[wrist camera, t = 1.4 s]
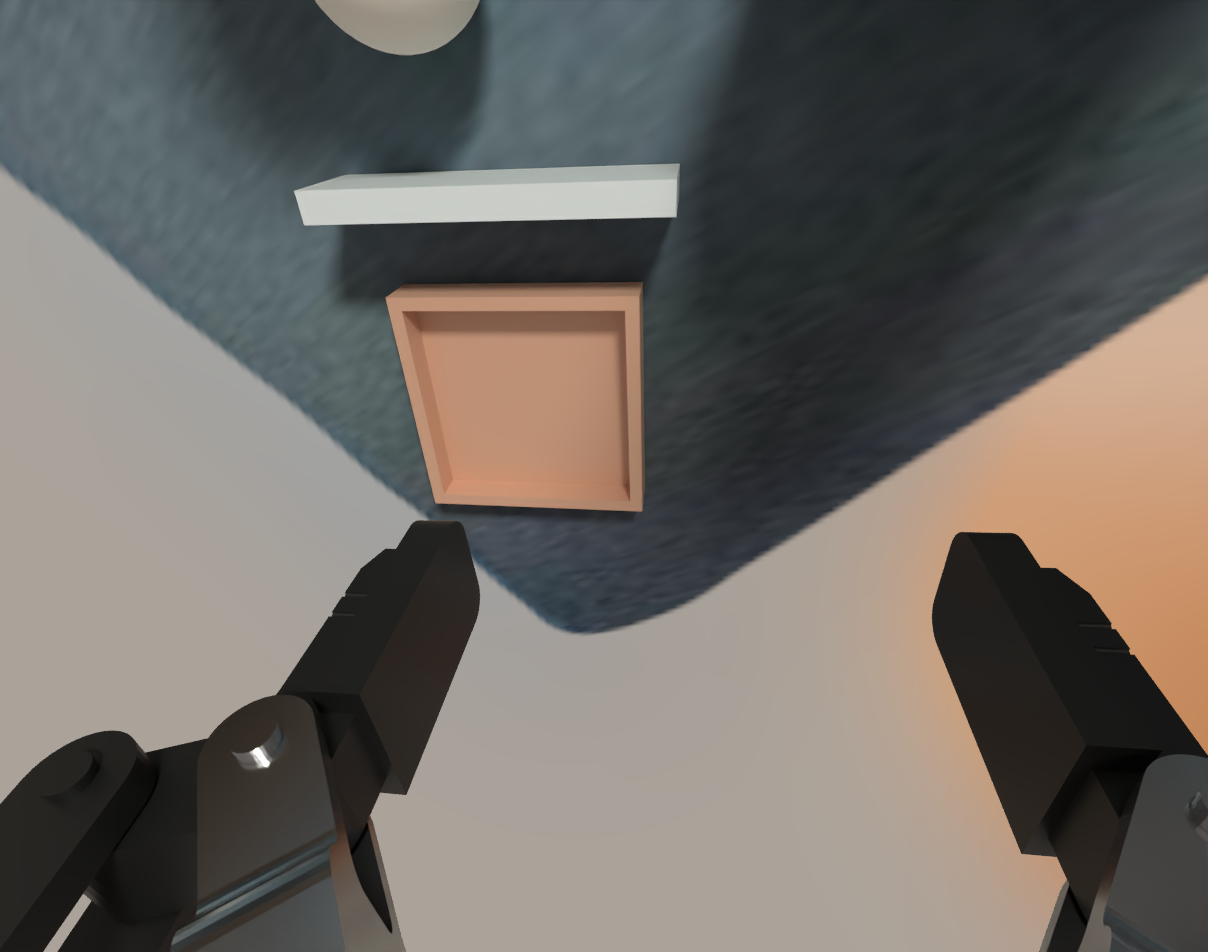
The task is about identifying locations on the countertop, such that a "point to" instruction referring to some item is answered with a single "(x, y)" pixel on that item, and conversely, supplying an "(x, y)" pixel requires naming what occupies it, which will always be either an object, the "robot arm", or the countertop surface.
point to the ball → (401, 22)
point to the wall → (494, 195)
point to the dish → (527, 391)
